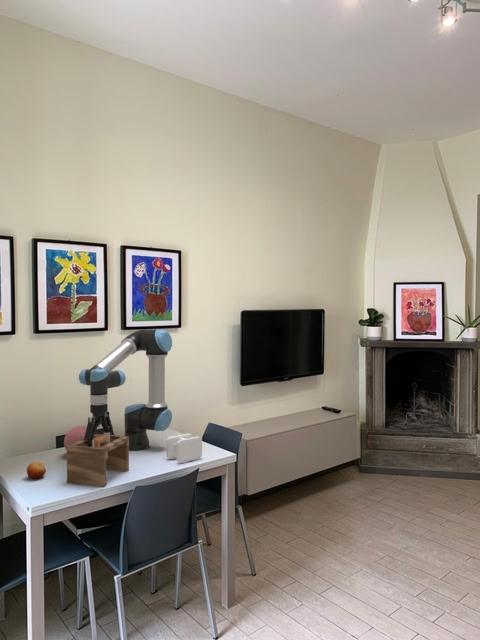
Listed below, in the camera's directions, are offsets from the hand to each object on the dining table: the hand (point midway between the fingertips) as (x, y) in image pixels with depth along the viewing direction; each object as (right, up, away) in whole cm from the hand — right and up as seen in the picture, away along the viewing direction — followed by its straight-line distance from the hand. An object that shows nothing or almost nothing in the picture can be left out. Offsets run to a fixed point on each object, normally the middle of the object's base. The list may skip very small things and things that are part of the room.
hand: (99, 450), depth 214 cm
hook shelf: (0, -12, 0) cm, 12 cm away
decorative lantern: (-17, -11, +29) cm, 35 cm away
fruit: (-27, -12, -2) cm, 30 cm away
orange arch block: (0, -5, 0) cm, 5 cm away
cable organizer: (+35, -11, +25) cm, 45 cm away
